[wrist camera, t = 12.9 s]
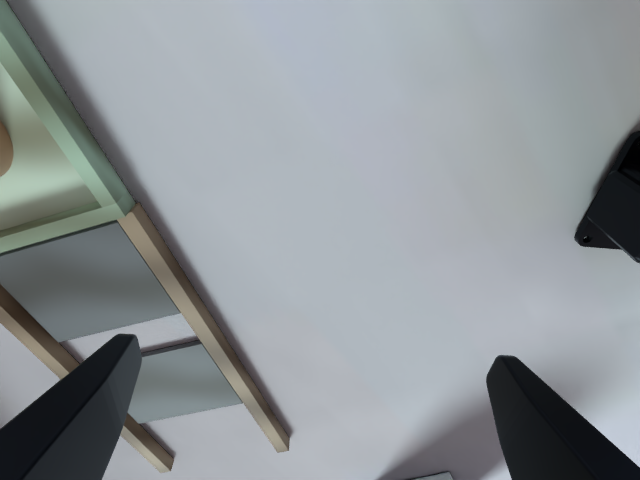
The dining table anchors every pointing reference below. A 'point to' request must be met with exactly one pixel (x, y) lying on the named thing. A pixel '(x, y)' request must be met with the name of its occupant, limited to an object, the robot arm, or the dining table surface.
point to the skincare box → (438, 477)
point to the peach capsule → (5, 150)
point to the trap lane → (97, 259)
